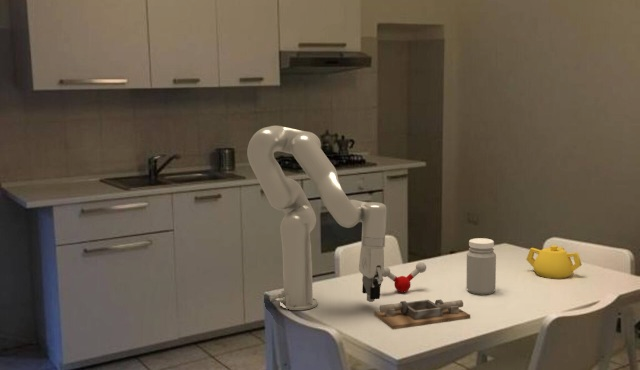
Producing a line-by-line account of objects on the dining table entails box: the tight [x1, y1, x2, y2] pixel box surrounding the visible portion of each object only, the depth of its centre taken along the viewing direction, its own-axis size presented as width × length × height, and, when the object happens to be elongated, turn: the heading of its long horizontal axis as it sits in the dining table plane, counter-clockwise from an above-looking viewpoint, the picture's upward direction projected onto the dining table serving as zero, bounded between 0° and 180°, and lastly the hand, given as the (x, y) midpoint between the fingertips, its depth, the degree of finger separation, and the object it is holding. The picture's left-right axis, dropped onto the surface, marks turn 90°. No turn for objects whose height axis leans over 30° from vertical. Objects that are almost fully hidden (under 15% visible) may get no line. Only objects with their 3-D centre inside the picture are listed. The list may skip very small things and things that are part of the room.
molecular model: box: [383, 261, 427, 293], centre depth 247 cm, size 18×6×10 cm, turn 117°
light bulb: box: [362, 275, 377, 303], centre depth 230 cm, size 6×6×10 cm
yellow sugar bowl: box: [526, 244, 582, 280], centre depth 267 cm, size 20×18×11 cm
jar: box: [465, 237, 497, 296], centre depth 245 cm, size 10×10×18 cm
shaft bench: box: [373, 299, 471, 330], centre depth 221 cm, size 26×14×5 cm, turn 109°
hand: (370, 295), depth 230 cm, fingers closed on light bulb, 5 cm apart
